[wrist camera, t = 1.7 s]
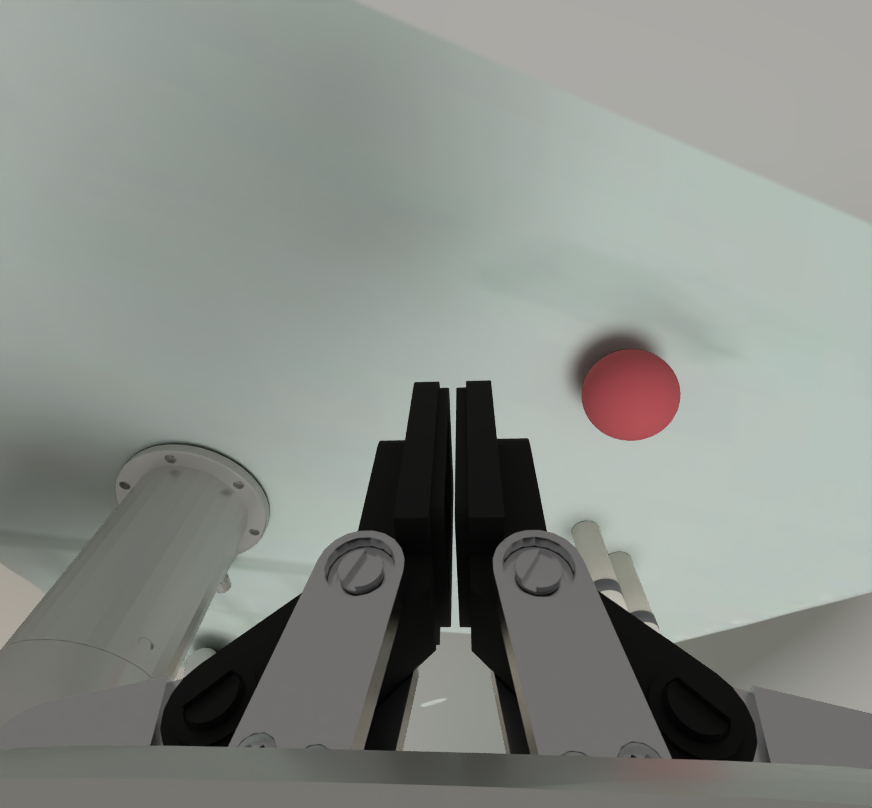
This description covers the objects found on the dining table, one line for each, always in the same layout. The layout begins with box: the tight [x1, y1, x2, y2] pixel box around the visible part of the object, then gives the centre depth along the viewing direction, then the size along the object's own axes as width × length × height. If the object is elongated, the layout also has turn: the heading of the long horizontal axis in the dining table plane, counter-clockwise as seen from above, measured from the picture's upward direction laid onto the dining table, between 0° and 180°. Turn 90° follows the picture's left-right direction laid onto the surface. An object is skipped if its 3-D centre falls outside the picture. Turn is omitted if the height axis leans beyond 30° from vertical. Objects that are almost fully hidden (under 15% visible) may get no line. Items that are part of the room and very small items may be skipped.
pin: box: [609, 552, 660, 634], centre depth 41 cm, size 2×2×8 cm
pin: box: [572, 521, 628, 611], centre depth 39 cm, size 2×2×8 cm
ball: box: [582, 349, 680, 441], centre depth 32 cm, size 6×6×6 cm
